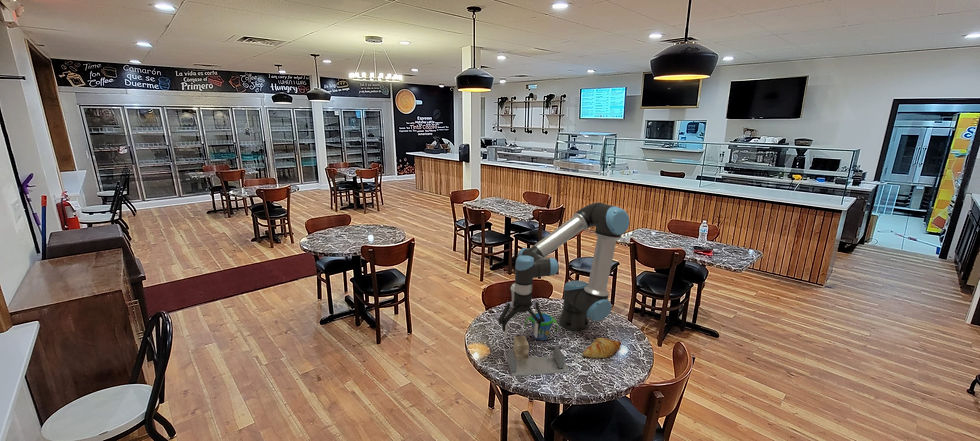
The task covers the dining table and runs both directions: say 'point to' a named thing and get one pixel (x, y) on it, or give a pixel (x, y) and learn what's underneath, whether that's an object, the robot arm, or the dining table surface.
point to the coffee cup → (513, 295)
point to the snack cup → (542, 326)
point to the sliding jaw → (557, 355)
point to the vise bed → (537, 366)
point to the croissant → (602, 348)
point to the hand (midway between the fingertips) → (520, 336)
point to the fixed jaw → (512, 360)
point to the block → (521, 347)
